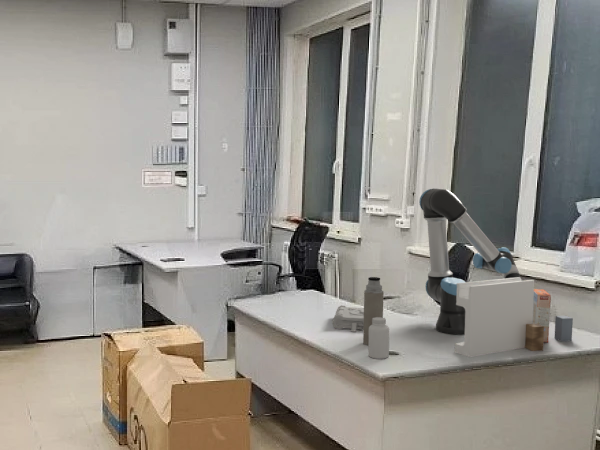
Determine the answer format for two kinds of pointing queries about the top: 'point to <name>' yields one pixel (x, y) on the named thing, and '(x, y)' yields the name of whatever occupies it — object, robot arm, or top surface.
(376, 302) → the thermos bottle
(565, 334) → the slate block
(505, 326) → the block
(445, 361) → the top surface
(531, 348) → the walnut block
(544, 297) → the cracker box
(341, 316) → the gray tool case
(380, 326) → the pill bottle
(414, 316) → the top surface
